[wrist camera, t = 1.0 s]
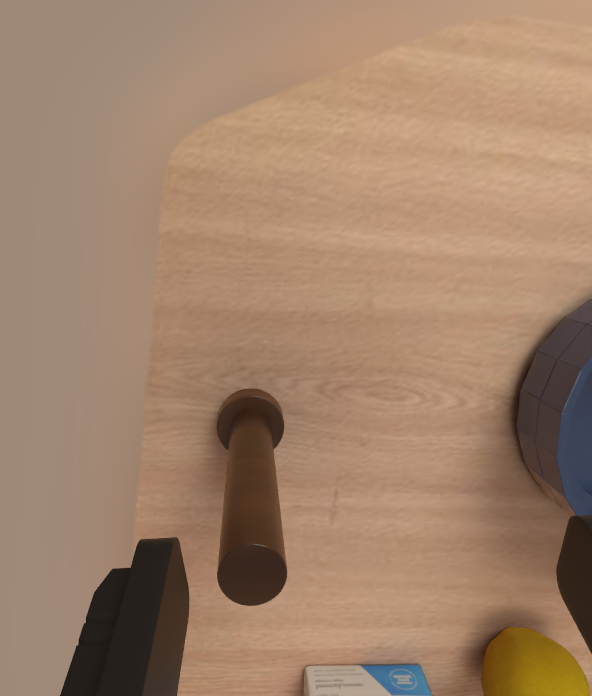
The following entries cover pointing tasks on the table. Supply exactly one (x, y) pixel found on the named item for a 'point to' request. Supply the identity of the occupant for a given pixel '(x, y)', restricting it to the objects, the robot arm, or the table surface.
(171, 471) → the table surface
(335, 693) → the ink box
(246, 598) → the capped post on base
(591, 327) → the blue bowl
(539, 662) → the apple
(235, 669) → the table surface
